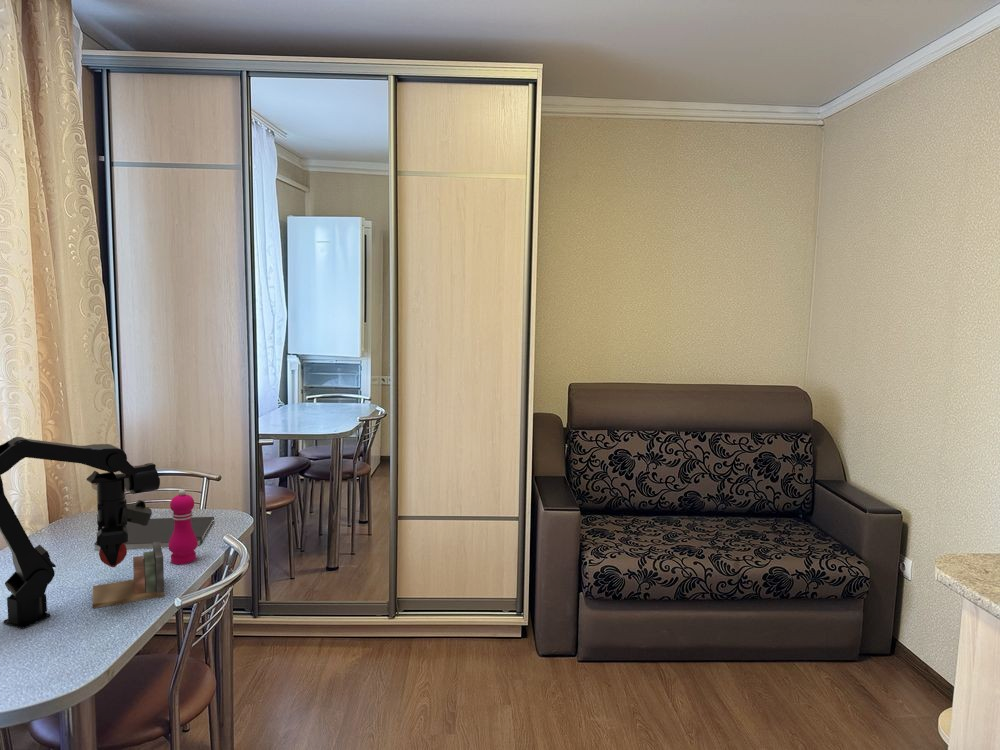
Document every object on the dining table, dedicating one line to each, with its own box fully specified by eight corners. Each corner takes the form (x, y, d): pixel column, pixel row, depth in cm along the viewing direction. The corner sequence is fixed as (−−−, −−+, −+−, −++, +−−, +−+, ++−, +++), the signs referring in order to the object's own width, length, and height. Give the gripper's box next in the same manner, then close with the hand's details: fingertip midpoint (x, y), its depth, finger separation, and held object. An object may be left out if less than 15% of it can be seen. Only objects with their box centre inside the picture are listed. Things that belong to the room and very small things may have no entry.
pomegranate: (132, 566, 167) (131, 534, 166) (108, 573, 162) (107, 541, 161) (118, 560, 170) (117, 529, 169) (94, 568, 165) (93, 535, 164)
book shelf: (92, 608, 160) (91, 567, 159) (93, 589, 170) (91, 550, 168) (164, 596, 168) (163, 556, 166) (160, 578, 177) (159, 541, 176)
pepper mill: (186, 566, 185) (185, 494, 183) (163, 563, 186) (161, 491, 184) (203, 556, 192) (202, 486, 190) (180, 553, 193) (178, 484, 191)
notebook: (214, 523, 220) (118, 526, 214) (214, 516, 220) (118, 519, 214) (199, 548, 199) (92, 552, 193) (199, 540, 199) (92, 544, 193)
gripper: (151, 504, 160) (152, 569, 162) (146, 484, 176) (148, 542, 178) (95, 510, 154) (98, 577, 156) (96, 488, 170) (98, 549, 172)
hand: (113, 560), depth 166 cm, fingers closed on pomegranate, 6 cm apart
